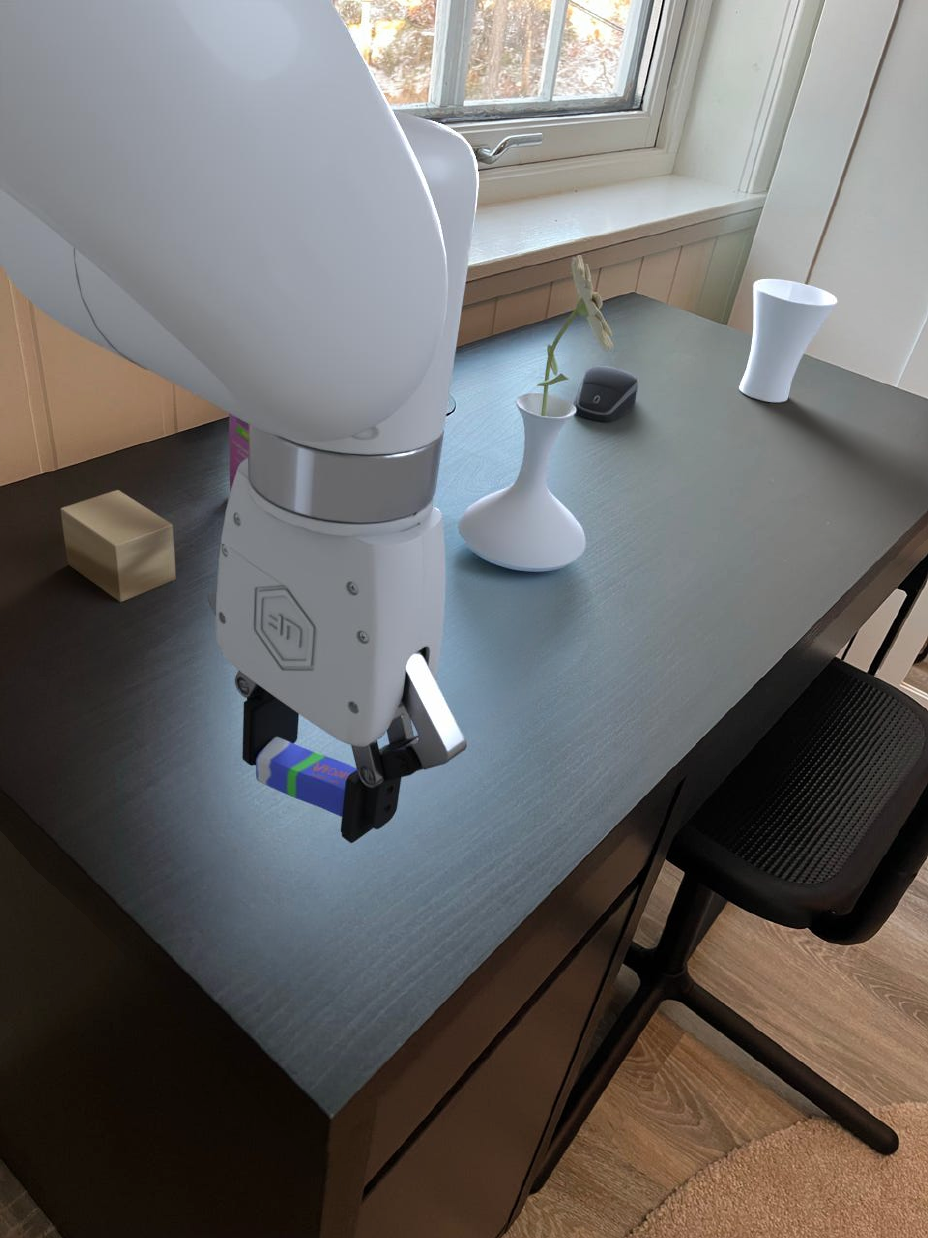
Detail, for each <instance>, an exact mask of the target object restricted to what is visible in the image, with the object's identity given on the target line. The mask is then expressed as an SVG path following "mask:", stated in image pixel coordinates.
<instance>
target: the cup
mask: <svg viewBox="0 0 928 1238" xmlns="http://www.w3.org/2000/svg"><path fill="white" fill-rule="evenodd" d="M838 301H839V300H838V299H837V297H836V296H835V295H833V294H832V293H831V292H829V291H826V290H824V289H821V288H818V287H816V286H813V285H809V284H805V283H802V282H797V281H793V280H785V279H775V278H764V279H758V280H756V281H754V283H753V331H752V332H753V333H752V340H751V341H752V342H751V349H750V353H749V357H748V362H747V365H746V370H745V371H744V374H743V377H742V379H741V381H740V384H739V386H738V388H739V391H740V392H741V393H743V394H744V395H746V396H748V397H750V398H753V399H756V400H758V401H762V402H769V403H783V402H786V401H787V400H788V399H789V398H788V397H789V395H790V391H791V386H792V381H793V379H794V376H795V374H796V372H797V369H798V366H799V364H800V362H801V359H802V358H803V356H804V354H805V352H806V350H807V348H808V346H809V345H810V343H811V341H812V340H813V339H814V337H815V336H816V334H817V333H818V331H819V330H820V328H821V327H822V325H823V324H824V322H825V321H826V320H827V318H828V317H829V316H830V314H831V313H832V311H833V310H834V309H835V307H836V305H837V304H838Z"/></svg>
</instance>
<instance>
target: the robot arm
mask: <svg viewBox="0 0 928 1238" xmlns="http://www.w3.org/2000/svg"><path fill="white" fill-rule="evenodd" d="M388 102H389V101H387V98H386V97H385V94H384V93H383V91H382V89H381V87H380V85H379V83H378V82H377V80H376V78H375V76H374V74H373V72H372V70H371V69H370V67H369V65H368V62H367V61H366V59H365V57H364V56H363V54H362V52H361V50H360V48H359V46H358V44H357V42H356V40H355V39H354V36H353V35H352V33H351V30H350V29H349V27H348V26H347V24H346V22H345V20H344V18H343V17H342V15H341V14H340V12H339V11H338V9H337V8H336V6H335V4H334V3H333V1H332V0H0V266H1V268H2V269H3V271H4V273H5V274H6V276H7V277H8V278H9V280H10V281H11V283H13V284H14V286H15V287H16V289H18V290H19V292H20V293H21V294H22V295H23V296H24V297H25V298H26V299H27V300H28V301H30V302H31V303H32V304H33V306H35V307H36V308H37V309H39V310H40V311H41V312H43V314H45V315H46V316H48V317H49V318H51V319H52V320H54V321H55V322H57V323H58V324H60V325H61V326H62V327H64V328H65V329H67V330H69V331H71V332H72V333H74V334H76V335H78V336H80V337H82V338H84V339H85V340H87V341H89V342H91V343H93V344H95V345H97V346H99V347H101V348H103V349H104V350H107V351H109V352H110V353H112V354H115V355H117V356H119V357H120V358H122V359H124V360H125V361H128V362H130V363H132V364H134V365H136V366H138V367H139V368H142V369H144V370H146V371H149V372H151V373H153V374H155V375H157V376H159V377H160V378H162V379H165V380H166V381H169V382H170V383H172V384H174V385H176V386H178V387H180V388H182V389H183V390H185V391H187V392H189V393H191V394H193V395H195V396H197V397H199V398H201V399H202V400H204V401H206V402H208V403H210V404H212V405H213V406H215V407H217V408H219V409H220V410H223V411H224V412H226V413H228V415H229V414H231V415H233V416H235V417H237V418H239V419H241V420H242V421H244V422H246V423H248V424H249V446H248V458H247V459H245V460H243V461H242V462H241V463H240V465H239V466H238V469H237V472H236V475H235V478H234V481H233V484H232V488H231V492H230V491H229V495H228V500H227V504H226V509H225V514H224V520H223V528H222V532H221V538H220V539H221V541H220V548H219V555H218V558H219V559H218V569H217V579H216V580H217V581H216V588H214V589H212V590H210V591H209V592H208V593H207V601H208V604H209V606H210V608H211V610H212V613H213V614H214V616H215V638H216V644H217V647H218V650H219V651H220V652H221V655H223V657H224V658H225V659H226V660H227V662H228V663H229V664H231V665H232V666H233V667H234V668H235V669H236V670H238V671H237V673H236V675H235V677H234V685H235V688H236V690H237V692H238V693H239V694H240V695H241V697H243V698H245V699H246V700H244V701H243V713H242V714H243V715H242V716H243V717H242V719H243V720H242V755H241V757H242V760H243V761H244V762H245V763H247V764H248V765H249V766H250V767H252V766H256V758H257V757H258V754H259V752H260V751H261V750H262V749H263V748H264V747H265V746H266V745H267V744H268V743H269V742H270V741H271V740H272V739H274V738H275V737H279V738H282V739H284V740H286V741H289V742H291V743H293V744H295V743H296V742H297V740H298V736H299V735H298V734H299V733H298V732H299V720H300V718H299V716H301V717H303V718H304V719H306V720H307V721H308V722H310V723H311V724H313V725H314V726H316V727H317V728H319V729H320V730H322V731H324V733H326V734H328V735H330V736H331V737H332V738H334V739H336V740H338V741H340V742H342V743H345V744H346V745H350V746H351V747H350V748H351V751H352V755H353V760H354V763H355V768H357V770H356V771H354V772H353V773H351V774H350V775H349V776H348V777H347V779H346V784H345V794H344V803H343V813H342V817H341V824H340V833H341V837H342V838H343V839H344V840H345V841H347V842H348V843H349V844H354V843H355V842H356V841H357V840H359V839H361V838H362V837H363V836H365V835H366V834H367V833H369V832H370V831H372V830H373V829H374V830H380V829H381V828H383V826H385V825H386V824H388V823H389V822H390V821H391V820H392V819H393V817H394V816H395V815H396V813H397V810H398V805H399V796H400V792H401V791H400V790H401V786H402V785H401V784H402V778H405V777H409V776H412V775H413V774H414V773H416V772H418V771H421V770H425V771H426V770H429V769H432V768H435V767H438V766H443V765H445V764H448V763H449V762H450V761H451V760H453V759H454V758H456V757H457V756H458V755H460V754H461V753H462V752H464V751H465V750H466V749H467V740H466V738H465V735H464V733H463V732H462V729H461V727H460V726H459V724H458V722H457V719H456V718H455V715H454V714H453V712H452V710H451V708H450V706H449V704H448V702H447V700H446V698H445V696H444V694H443V693H442V691H441V688H440V686H439V684H438V682H437V679H438V673H439V667H440V659H441V653H442V643H443V635H444V634H443V632H444V621H445V608H446V607H445V605H446V545H445V542H446V541H445V530H444V529H445V528H444V517H443V512H442V511H440V509H438V508H437V507H436V506H435V505H434V502H435V496H436V490H437V483H438V476H439V470H440V462H441V455H442V450H443V449H442V448H443V443H444V434H445V426H446V419H447V413H448V407H449V406H448V405H449V399H450V393H451V384H452V379H453V373H454V367H455V366H454V364H455V358H456V352H457V346H458V337H459V331H460V323H461V317H462V310H463V303H464V295H465V290H466V289H465V288H466V282H467V276H468V275H467V274H468V268H469V260H470V254H471V247H472V239H473V232H474V225H475V219H476V213H477V205H478V192H479V182H480V180H479V179H480V178H479V171H478V161H477V159H476V155H475V153H474V150H473V149H472V146H471V145H470V144H469V143H468V141H467V140H466V139H465V138H464V137H463V136H462V135H461V134H460V133H458V132H456V131H455V130H453V129H452V128H450V127H448V126H446V125H445V124H442V123H438V122H436V121H433V120H431V119H426V118H424V117H420V116H417V115H414V114H408V113H404V112H399V111H394V110H392V109H391V106H390V105H389V103H388ZM413 727H414V729H415V731H416V734H417V735H415V734H414V730H413ZM385 734H386V735H387V740H388V744H385V745H384V746H382V747H380V748H379V743H378V740H380V739H381V738H383V737H384V735H385Z"/></svg>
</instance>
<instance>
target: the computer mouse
mask: <svg viewBox="0 0 928 1238" xmlns="http://www.w3.org/2000/svg"><path fill="white" fill-rule="evenodd" d="M638 388H639V385H638V377H637V376H635V375H634V374H633V373H631V372H629V371H626V370H623V369H621V368H617V367H614V366H608V365H593V366H591V367H589V368H587V369H586V370H585V372H584V374H583V376H582V377H581V379H580V385H579V387H578V391H577V392H576V395H575V397H574V400H573V405H574V406H575V408H576V413H575V415H577V416H581V417H583V418H586V419H590V420H593V421H597V422H602V423H603V422H605V423H607V422H608V423H609V422H613V421H615V420H617V419H619V418H621V417H622V416H623V415H626V414H627V413H628V412H629V411H631V409H633V408H634V406H635V404H636V400H637V394H638Z"/></svg>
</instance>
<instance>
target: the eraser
mask: <svg viewBox="0 0 928 1238" xmlns="http://www.w3.org/2000/svg"><path fill="white" fill-rule="evenodd" d="M356 770H357V768H356V766H352V765H350V764H348V763H346V762H343V761H340V760H338V759H335V758H332V757H329V756H328V755H327V756H326V755H325V754H321V753H319V752H315V751H313V750H310V749H307V748H305V747H303V746H300V745H298V744H295V743H294V744H293V743H291V742H289V741H286V740H284V739H282V738H279V737H275V738H274V739H272V740H271V741H270V742H269V743H268V744H267V745H266V746H265V747H264V748H263V749H262V750H261V751H260V752H259V754H258V757H257V758H256V765H255V779H256V780H257V781H258V783H261V784H262V785H264V786H266V787H269V788H271V789H273V790H275V791H278V792H280V793H282V794H285V795H287V796H289V797H292V798H294V799H297V800H300V801H302V802H305V803H308V804H310V805H312V806H315V807H318V808H320V809H322V810H325V811H327V812H330V813H331V814H334V815H337V816H338V817H341V818H342V813H343V803H344V794H345V784H346V779H347V777H348V776H349V775H350V774H351V773H353V772H354V771H356Z"/></svg>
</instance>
